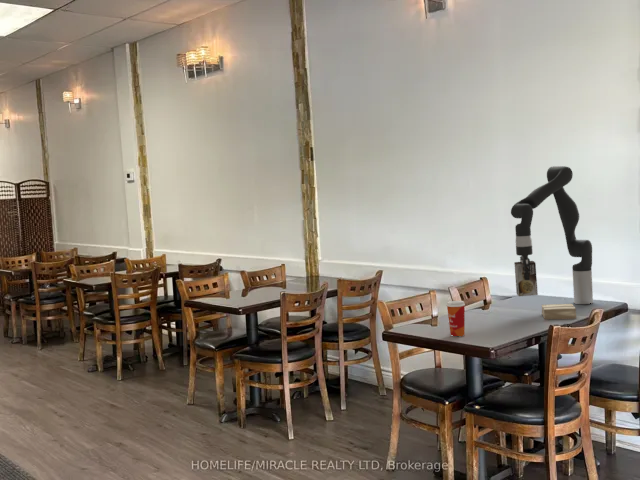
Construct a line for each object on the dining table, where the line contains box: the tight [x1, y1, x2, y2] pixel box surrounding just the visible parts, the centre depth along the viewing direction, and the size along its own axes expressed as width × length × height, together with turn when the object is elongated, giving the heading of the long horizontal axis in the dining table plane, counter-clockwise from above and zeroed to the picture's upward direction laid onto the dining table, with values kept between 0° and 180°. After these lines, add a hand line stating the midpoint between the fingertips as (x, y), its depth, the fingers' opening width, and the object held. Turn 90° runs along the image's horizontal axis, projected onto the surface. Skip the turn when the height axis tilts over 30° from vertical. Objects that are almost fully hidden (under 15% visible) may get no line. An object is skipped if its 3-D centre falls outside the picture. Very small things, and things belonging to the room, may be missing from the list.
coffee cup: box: [446, 300, 466, 337], centre depth 293 cm, size 8×8×15 cm
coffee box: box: [513, 260, 539, 297], centre depth 322 cm, size 9×6×16 cm
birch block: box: [541, 303, 577, 320], centre depth 319 cm, size 13×14×5 cm
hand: (525, 278), depth 322 cm, fingers closed on coffee box, 6 cm apart
